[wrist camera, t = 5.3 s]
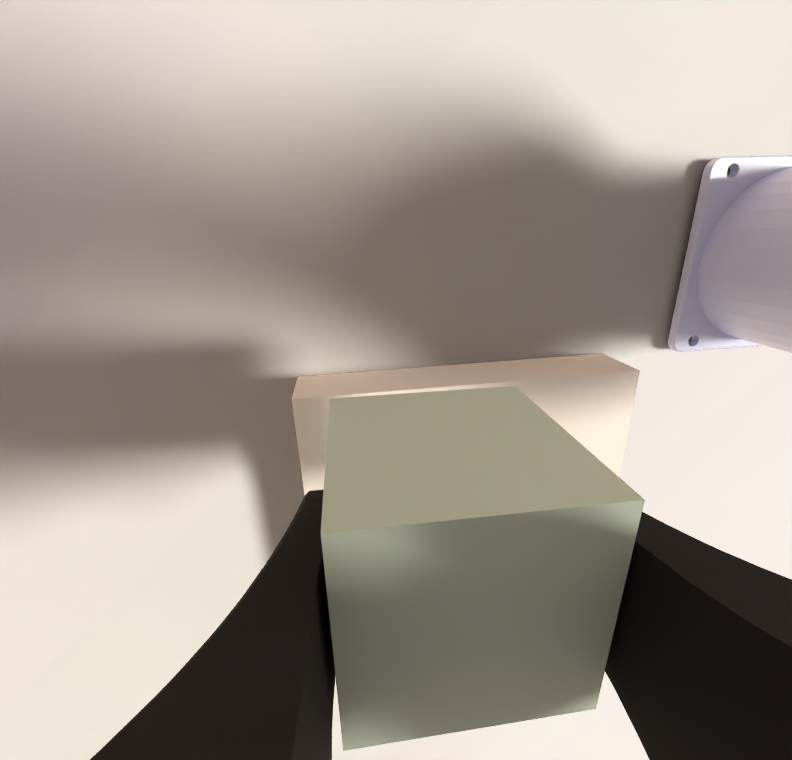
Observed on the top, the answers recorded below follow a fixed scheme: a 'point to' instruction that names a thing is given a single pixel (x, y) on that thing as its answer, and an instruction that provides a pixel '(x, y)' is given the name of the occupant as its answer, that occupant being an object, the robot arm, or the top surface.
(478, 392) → the sage cube
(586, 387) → the cream block
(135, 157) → the top surface
